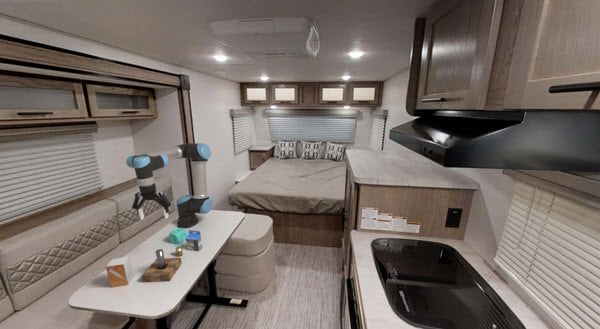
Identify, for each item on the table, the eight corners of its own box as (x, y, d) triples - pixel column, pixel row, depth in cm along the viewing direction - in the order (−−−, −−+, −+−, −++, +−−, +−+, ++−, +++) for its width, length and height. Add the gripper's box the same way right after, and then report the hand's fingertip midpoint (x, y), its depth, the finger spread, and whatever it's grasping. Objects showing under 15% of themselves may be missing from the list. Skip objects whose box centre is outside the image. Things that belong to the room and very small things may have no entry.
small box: (111, 287, 115) (105, 266, 112) (117, 279, 121) (112, 258, 118) (128, 285, 117) (123, 264, 113) (134, 276, 123) (129, 256, 119)
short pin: (178, 253, 142) (177, 246, 140) (183, 253, 142) (182, 246, 140) (175, 256, 138) (174, 249, 137) (181, 256, 138) (180, 249, 137)
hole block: (157, 264, 132) (156, 258, 131) (181, 263, 132) (180, 257, 131) (142, 282, 118) (141, 276, 117) (169, 281, 119) (168, 275, 118)
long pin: (162, 270, 127) (157, 249, 123) (168, 270, 127) (164, 249, 124) (158, 274, 124) (154, 253, 120) (164, 274, 124) (160, 252, 120)
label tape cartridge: (187, 249, 145) (184, 233, 142) (190, 246, 149) (188, 230, 146) (199, 251, 143) (196, 234, 140) (202, 247, 147) (200, 231, 144)
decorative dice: (188, 238, 158) (186, 228, 156) (179, 245, 150) (177, 234, 148) (178, 236, 160) (177, 227, 158) (169, 243, 152) (167, 233, 150)
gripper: (118, 187, 118) (127, 223, 124) (166, 185, 120) (173, 220, 126) (127, 182, 125) (136, 216, 131) (173, 180, 127) (179, 214, 133)
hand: (154, 218), depth 128 cm, fingers open, 13 cm apart
